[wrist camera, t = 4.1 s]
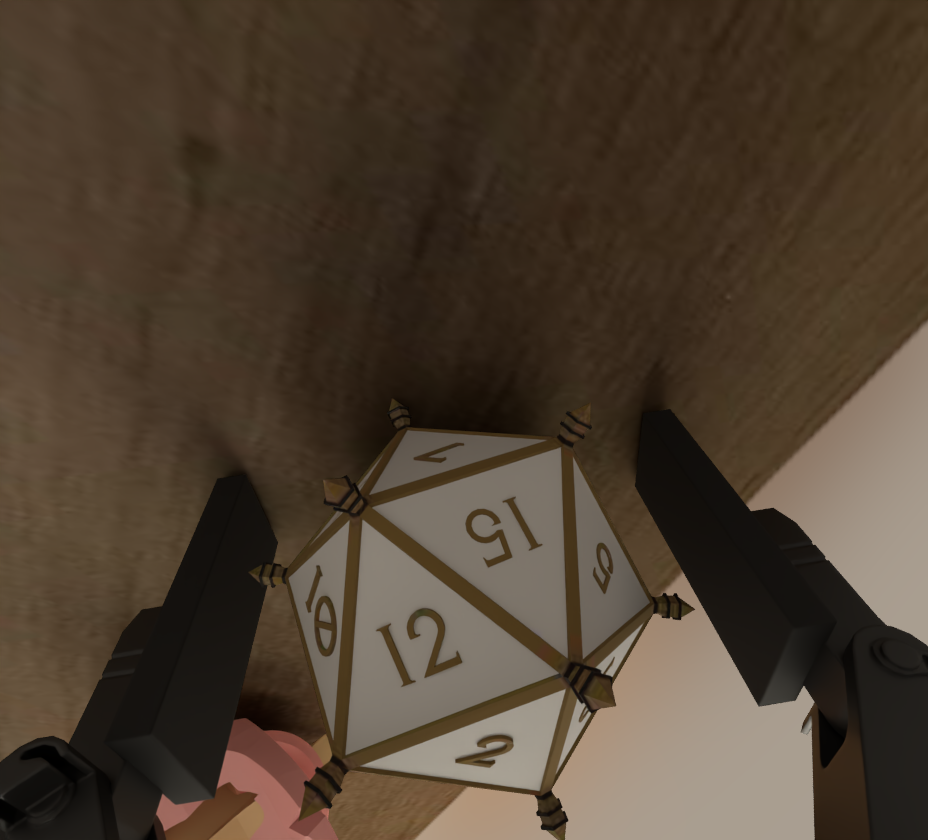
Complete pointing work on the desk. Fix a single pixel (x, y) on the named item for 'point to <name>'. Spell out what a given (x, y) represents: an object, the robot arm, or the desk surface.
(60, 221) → the desk surface
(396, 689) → the game die
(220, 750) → the robot arm
